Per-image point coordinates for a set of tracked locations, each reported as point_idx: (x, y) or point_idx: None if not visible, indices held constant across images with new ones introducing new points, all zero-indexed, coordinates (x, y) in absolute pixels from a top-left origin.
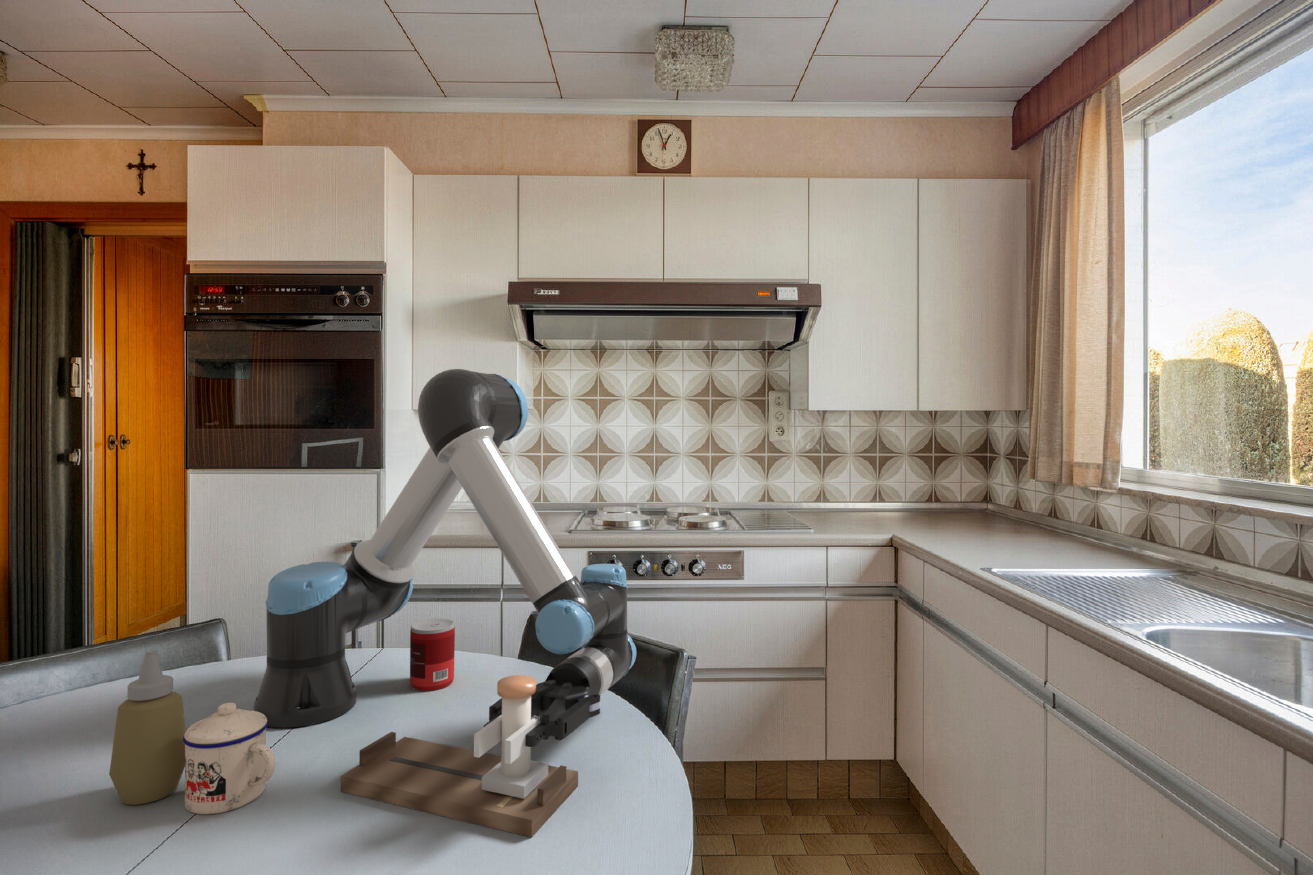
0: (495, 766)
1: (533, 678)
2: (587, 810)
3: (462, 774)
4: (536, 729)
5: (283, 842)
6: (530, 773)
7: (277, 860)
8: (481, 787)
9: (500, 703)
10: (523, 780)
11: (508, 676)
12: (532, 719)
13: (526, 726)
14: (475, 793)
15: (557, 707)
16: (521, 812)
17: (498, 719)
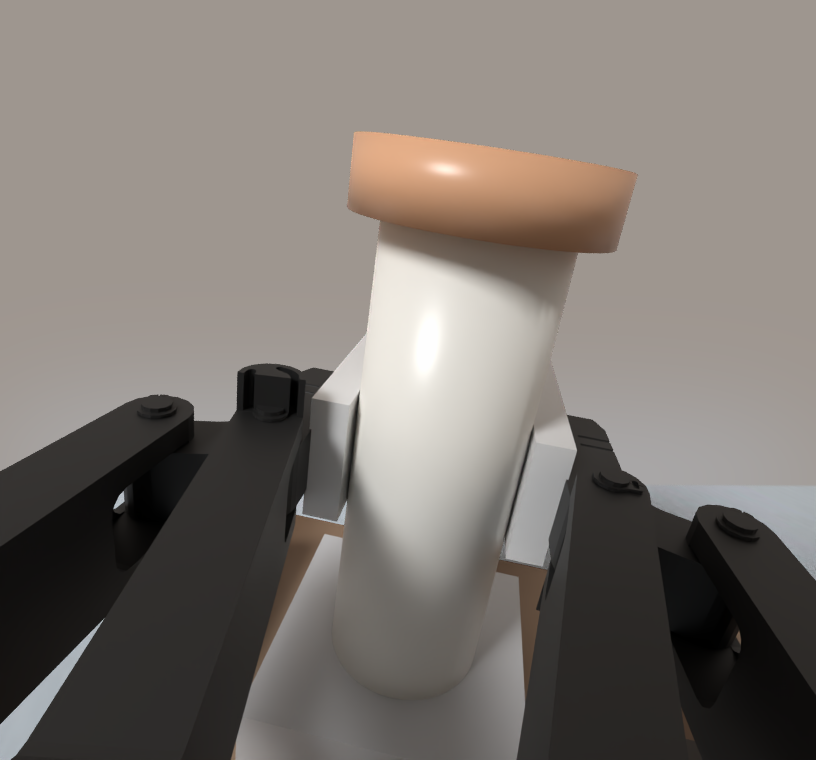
0: (519, 659)
1: (399, 137)
2: (38, 699)
3: (693, 752)
4: (307, 399)
5: (808, 527)
6: (321, 611)
7: (746, 492)
8: (529, 658)
9: (770, 588)
10: (338, 564)
11: (627, 173)
12: (348, 398)
13: (356, 360)
14: (522, 616)
15: (159, 544)
16: (313, 535)
17: (543, 403)
